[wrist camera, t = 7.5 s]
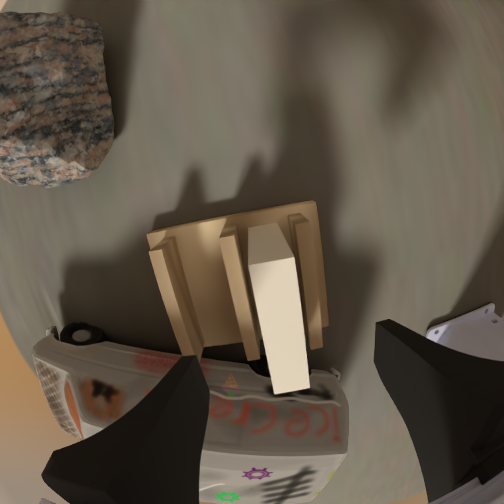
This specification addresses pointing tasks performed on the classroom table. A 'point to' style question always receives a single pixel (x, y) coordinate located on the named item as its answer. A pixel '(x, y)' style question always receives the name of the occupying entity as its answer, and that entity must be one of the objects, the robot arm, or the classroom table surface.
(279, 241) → the tall cream block
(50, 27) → the stone
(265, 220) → the rack
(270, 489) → the toy car
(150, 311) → the classroom table surface
